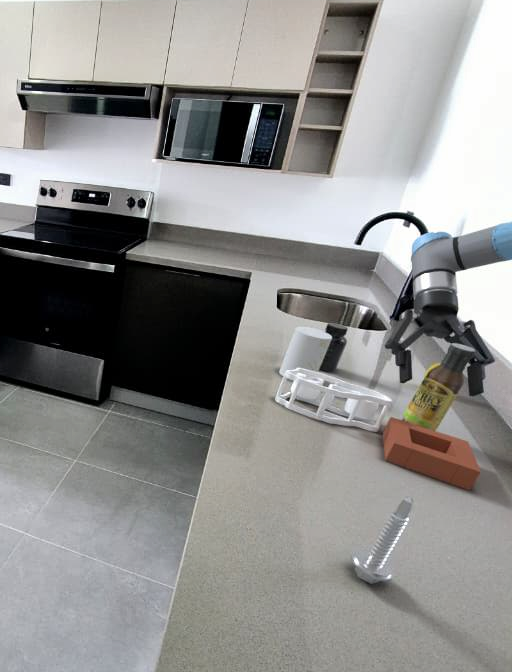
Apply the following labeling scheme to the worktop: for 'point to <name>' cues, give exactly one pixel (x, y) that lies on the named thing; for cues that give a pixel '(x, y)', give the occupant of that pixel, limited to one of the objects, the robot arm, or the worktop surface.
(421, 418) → the sauce bottle
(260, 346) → the worktop surface
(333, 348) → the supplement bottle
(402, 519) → the screw
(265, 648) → the worktop surface
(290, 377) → the skeletal toy car
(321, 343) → the cup
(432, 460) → the base pad
